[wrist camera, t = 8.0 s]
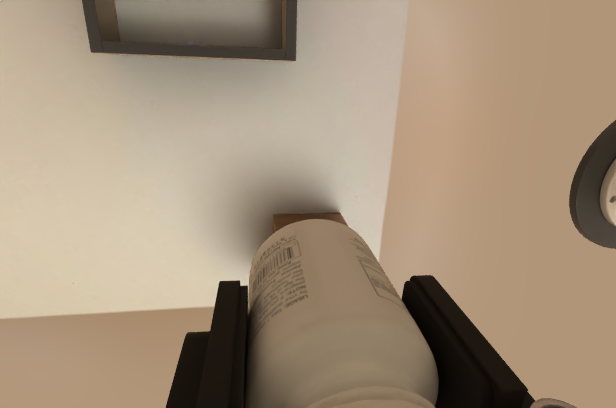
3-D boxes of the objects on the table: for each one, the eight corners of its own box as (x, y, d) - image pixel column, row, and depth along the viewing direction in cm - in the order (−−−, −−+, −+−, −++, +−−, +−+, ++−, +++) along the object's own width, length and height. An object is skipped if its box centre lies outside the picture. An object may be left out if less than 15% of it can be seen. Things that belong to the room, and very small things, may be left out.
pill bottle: (250, 324, 13) (238, 644, 6) (249, 215, 11) (230, 468, 4) (364, 319, 13) (483, 602, 6) (378, 215, 12) (557, 434, 5)
